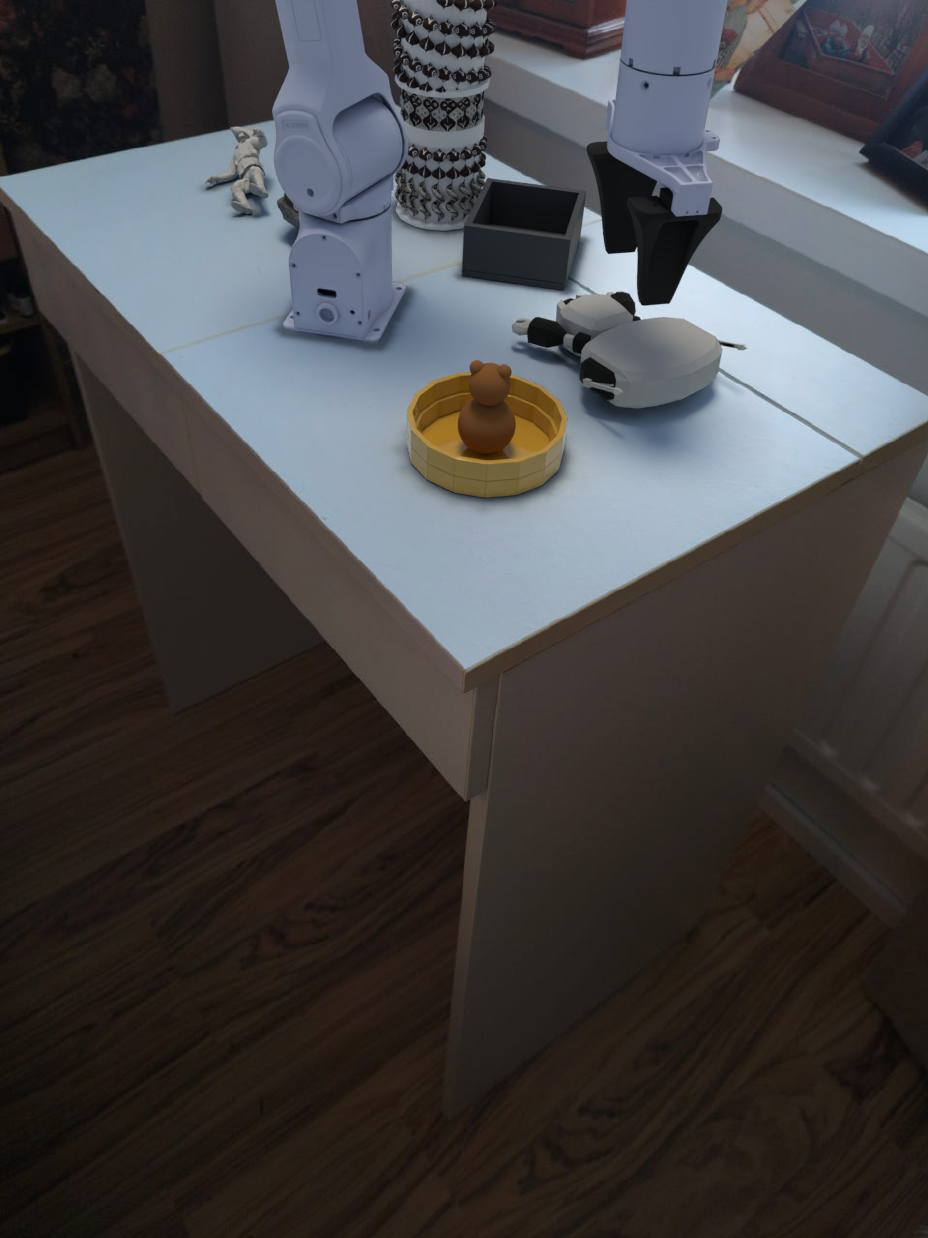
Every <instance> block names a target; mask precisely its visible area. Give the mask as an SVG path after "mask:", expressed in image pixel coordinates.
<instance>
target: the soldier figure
mask: <svg viewBox="0 0 928 1238" xmlns="http://www.w3.org/2000/svg"><path fill="white" fill-rule="evenodd" d="M229 130H230V131H231V133H232V135H233V137H234V138H235V140H236V141H237V143H238V144H237V145H236V146H235V147H234V149H235V150H234V152H233V154H232V157H231V161H230V164H229V168H228V170H227V171H226V172H224V173H220V174H216V175H210V176H208V177H207V178H206V179H205V181H204V185H206V184H207V183H209V184H210V187H211V188H212V187H213V186H214V184H215V183H216V184H222V183H226V182H229V181H233V180H234V179H236V177H237V176H238V177H239V179H237V180H236V181H235V182H234V183H232V184H231V186H230V192H231V196H232V198H233V201H232V202H231V203H230V206H231V207H232V208H233V210H235V211H236V212H238V213H239V212H241V213H244V214H246V215H250V214H252V213H253V208H252V206H251V205H250V203H249V202H248V199H247V197H246V195H248V194H250V193H251V194H253V195H255V196H258V197H260V198H262V199H268V198H269V193H268V191H267V189H266V188H265V184H264V183H265V177H266V172H265V168H264V166H263V165H262V163H261V161H260V154H261V150H263V149H264V148H266V147H267V146H268V139H267V136H266V134H265V132H264V131H263V130H262V129H261V128H259V127H251V129H249V128H244V127H241V126H231V127H230V128H229Z"/></svg>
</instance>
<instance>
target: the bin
mask: <svg viewBox="0 0 928 1238" xmlns="http://www.w3.org/2000/svg"><path fill="white" fill-rule="evenodd" d="M586 197H587V191H586V190H582V189H575V188H566V187H561V186H554V185H553V186H552V185H546V184H545V185H544V184H538V183H529V182H522V181H513V180H506V179H498V178H491V177H487V178H486V179H485V184H484V186H483V187H482V190H481V192H480V194H479V196H478V198H477V200H476V202H475V204H474V206H473V208H472V210H471V212H470V214H469V216H468V218H467V220H466V222H465V224H464V228H463V237H462V239H463V240H462V259H461V260H462V262H461V276H462V277H468V278H475V279H476V278H477V279H482V280H490V281H497V282H505V283H511V284H518V285H526V286H532V287H539V288H546V289H552V290H561V291H565V290H566V287H567V284H568V281H569V277H570V274H571V271H572V268H573V264H574V261H575V257H576V254H577V251H578V249H579V248H578V247H579V244H580V241H581V236H582V228H583V221H584V211H585V203H586Z"/></svg>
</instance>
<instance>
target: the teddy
mask: <svg viewBox="0 0 928 1238" xmlns="http://www.w3.org/2000/svg"><path fill="white" fill-rule="evenodd" d="M469 372H471V375H470V378H469V383H468V386H469V391H470V394H471V396H472V397H473V399H471V400H470V401H468V402H467V403H466V404H465V406H464V407H463V408H462V410H461V412H460V414H459V418H458V432H459V435H460V437H461V439H462V441H463V442H464V444H465V445H466V446H467V447H468V448H470V449H471V450H473V451H475V452H477V453H481V454H493V453H496V452H499V451H501V450H502V449H504V448H505V447H506V446H507V445H508V444H509V443H510V441H511V440H512V438H513V436H514V433H515V428H516V420H515V416H514V413H513V411H512V409H511V407H510V406H509V405H508V404H507V403H506V402H505V401H504V399H505V398H506V397H507V396H508V394H509V391H510V386H511V383H510V378H509V377H510V376H511V375H512V368H511V366H509V365H508V364H505V363H502V364H498V363H495V362H485V363H483V362H482V361H481V360H479V359H478V360H477V359H475V360H473V361H471V363H470V364H469Z"/></svg>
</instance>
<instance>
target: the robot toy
mask: <svg viewBox="0 0 928 1238" xmlns="http://www.w3.org/2000/svg"><path fill="white" fill-rule="evenodd" d="M636 312H637V310H636V302H635V301H634V299H633V297H632V296H631V294H630V293H629V292H625V291H623V290H621V291H615V292H613V291H607V292H606V294H599V293H592V294H587V293H586V294H585V293H584V294H575V298H572V297H570V298H569V297H568V298H567V299H564V300H563V299H560V300H558V302H557V303H556V311H555V320H552V319H548V318H544V317H541V316H535V317H534V318H531V319H529V318H519V319H517V320H516V321H515V322H513V323H512V324H511V331H512V333H514V334H515V335H517V336H526V337H527V343H528V344H531V345H535V346H538V347H542V348H545V349H548V348H549V349H550V348H555V347H558V346H562V347H563V348H564V349H565V350H566V351H568V352H570V353H571V354H574V355H575V356H576V357H578V358H579V357H580V366H579V377H578V379H579V382H581V384H582V386H583V387H584V388H586V389H588V390H589V391H591V392H592V393H594V394H595V395H596V396H597V397H599V398H601V399H602V400H604V401H607V402H608V403H610V404H612V405H613V406H614V407H619V408H622V409H626V408H629V409H644V408H650V407H657V406H661V405H666V404H669V403H674V402H678V401H681V400H684V399H685V398H687V397H689V396H691V395H693V394H695V393H697V392H698V391H700V390H702V389H704V388H705V387H708V385H710V384H711V383H713V381H715V380H716V378H717V376H718V374H719V370H720V365H721V360H722V355H723V347H726V348H727V347H728V348H731V349H732V348H733V349H737V350H738V351H746V350H747V349H748V347H747V345H746V344H745V343H735V342H729V341H724V340H719V339H718V338H717V336H716V335H713V334H712V333H711V332H708V331H707V330H705V329H703V328H702V327H700V326H698V325H696V324H694V323H693V322H690V321H689V320H687V319H685V318H679V317H671V316H670V317H669V316H659V317H658V316H657V317H651V318H644V319H642V318H641V317H640V316H638V315H636Z"/></svg>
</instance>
